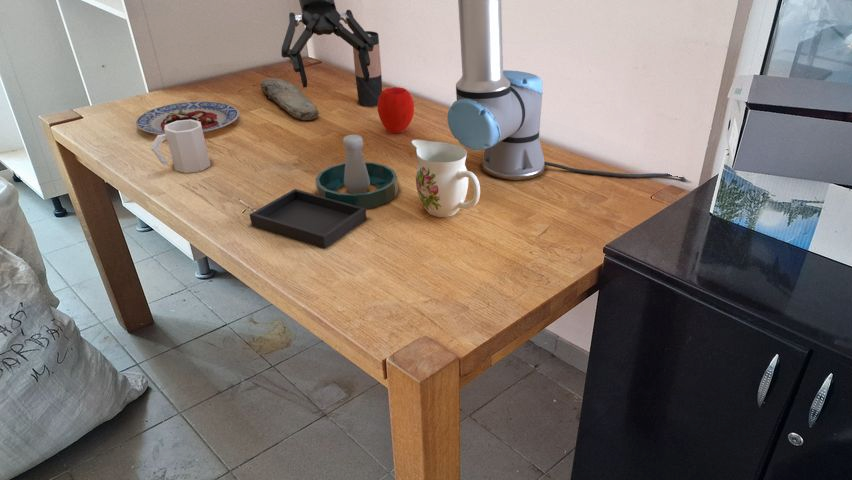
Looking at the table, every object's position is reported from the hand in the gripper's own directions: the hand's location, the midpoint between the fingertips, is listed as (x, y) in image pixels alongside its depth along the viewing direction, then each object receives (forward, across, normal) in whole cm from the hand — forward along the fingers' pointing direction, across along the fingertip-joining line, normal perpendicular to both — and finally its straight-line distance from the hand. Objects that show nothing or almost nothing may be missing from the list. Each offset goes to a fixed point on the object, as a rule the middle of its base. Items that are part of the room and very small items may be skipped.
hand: (336, 81), depth 143 cm
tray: (+30, +12, 0) cm, 33 cm away
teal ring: (+23, 0, -8) cm, 24 cm away
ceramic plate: (-16, +32, -48) cm, 60 cm away
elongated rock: (-23, +4, -54) cm, 59 cm away
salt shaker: (+23, 0, -8) cm, 24 cm away
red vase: (0, -19, -31) cm, 36 cm away
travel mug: (-18, -18, -49) cm, 55 cm away
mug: (+4, +35, -27) cm, 44 cm away
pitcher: (+34, -15, +4) cm, 38 cm away
